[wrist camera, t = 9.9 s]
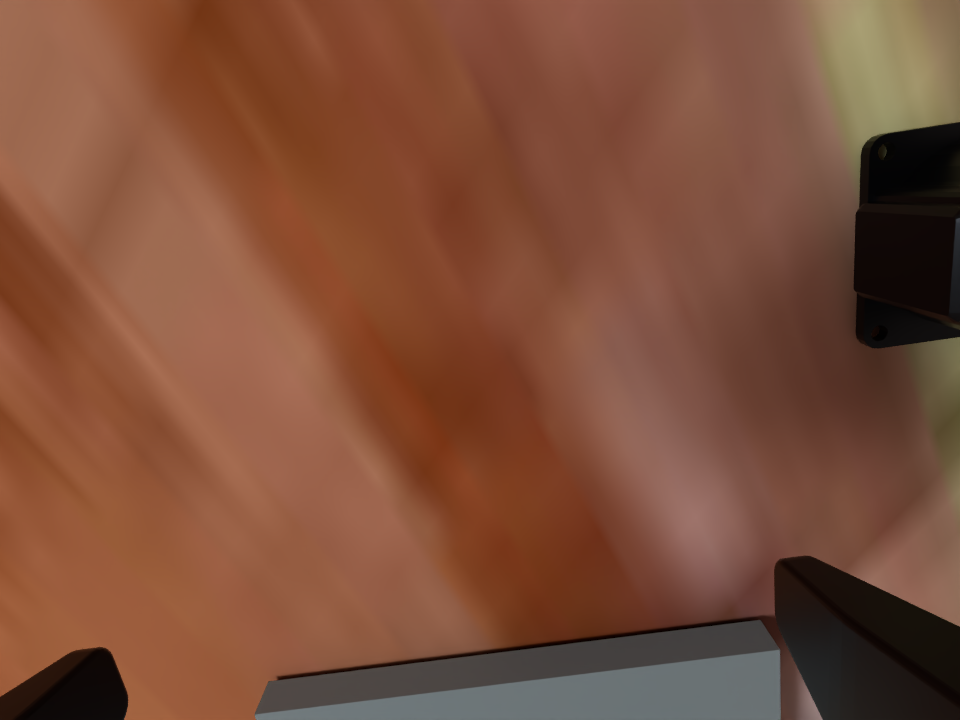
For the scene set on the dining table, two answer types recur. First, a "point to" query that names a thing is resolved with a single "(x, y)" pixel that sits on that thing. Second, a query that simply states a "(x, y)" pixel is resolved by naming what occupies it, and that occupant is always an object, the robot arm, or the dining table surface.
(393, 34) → the dining table surface
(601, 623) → the dining table surface
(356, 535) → the dining table surface
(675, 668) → the board
